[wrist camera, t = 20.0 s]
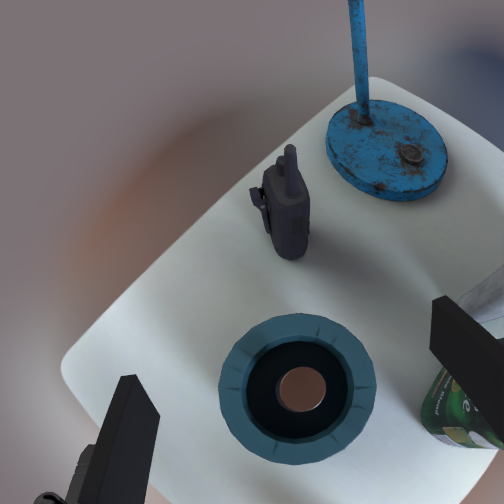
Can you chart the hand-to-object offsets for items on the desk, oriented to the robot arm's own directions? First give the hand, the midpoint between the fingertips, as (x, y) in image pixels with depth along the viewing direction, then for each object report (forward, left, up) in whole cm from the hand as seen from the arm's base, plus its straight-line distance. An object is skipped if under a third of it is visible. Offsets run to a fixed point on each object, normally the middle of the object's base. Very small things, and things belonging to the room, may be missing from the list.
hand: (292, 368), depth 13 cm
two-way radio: (+9, +11, -17) cm, 22 cm away
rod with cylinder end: (0, -1, -16) cm, 16 cm away
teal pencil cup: (0, -1, -17) cm, 17 cm away
